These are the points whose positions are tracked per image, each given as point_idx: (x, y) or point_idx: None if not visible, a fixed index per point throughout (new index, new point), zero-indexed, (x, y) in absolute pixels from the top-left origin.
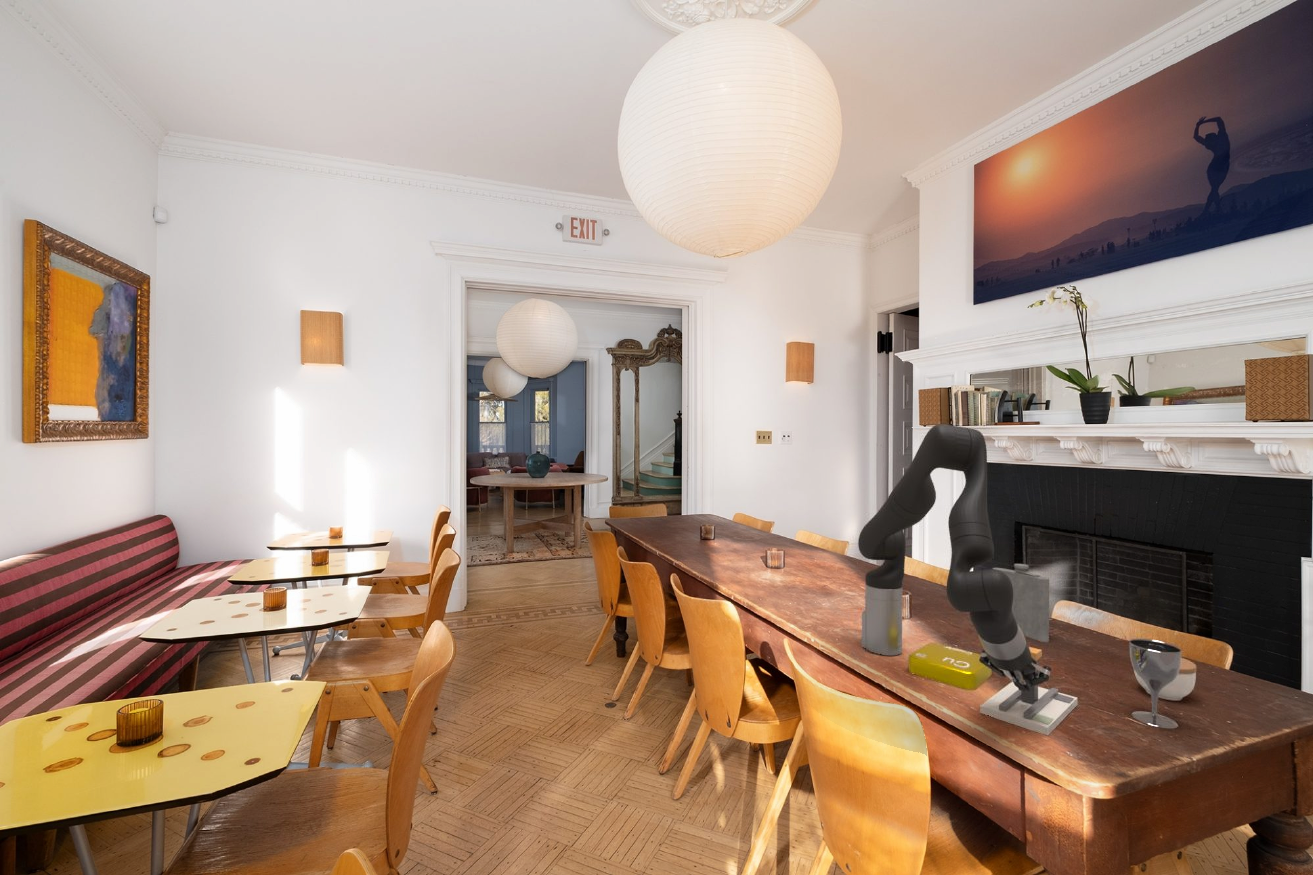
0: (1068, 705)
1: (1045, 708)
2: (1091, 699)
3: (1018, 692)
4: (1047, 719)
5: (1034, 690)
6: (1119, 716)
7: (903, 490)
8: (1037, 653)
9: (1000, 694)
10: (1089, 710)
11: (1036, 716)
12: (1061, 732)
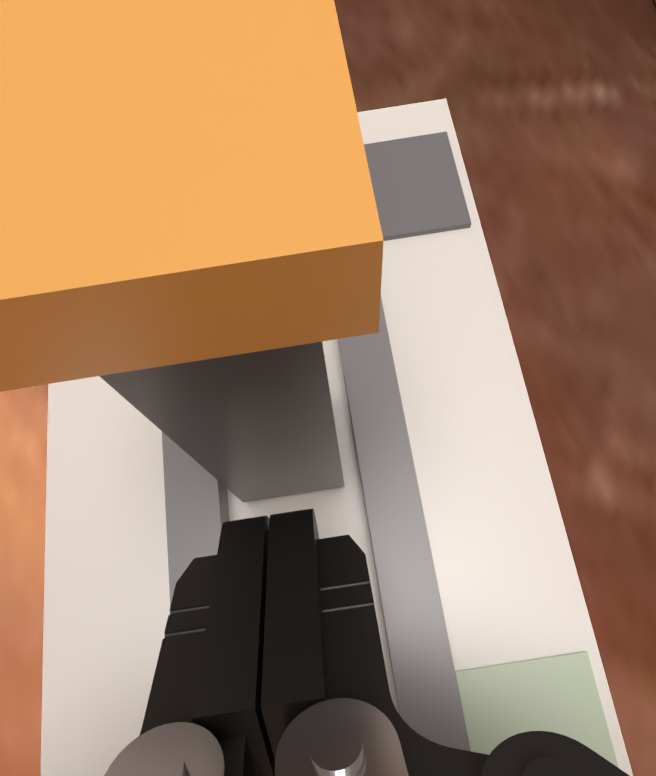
0: (483, 263)
1: (426, 471)
2: (441, 10)
3: None
4: (574, 725)
5: (339, 453)
6: (650, 94)
7: None
8: (370, 177)
9: (77, 516)
10: (519, 152)
11: (489, 752)
12: (643, 685)
